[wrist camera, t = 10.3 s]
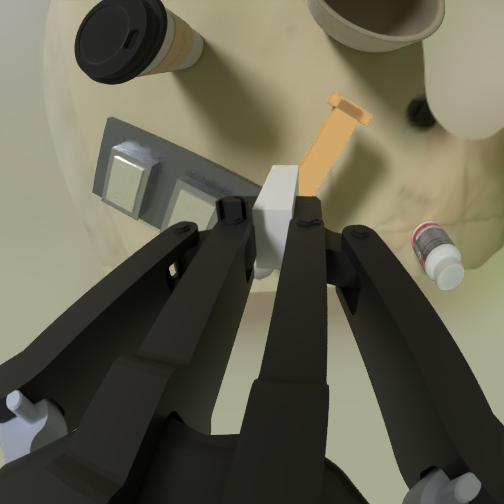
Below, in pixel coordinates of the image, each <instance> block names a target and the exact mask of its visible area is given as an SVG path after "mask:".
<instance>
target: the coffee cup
mask: <svg viewBox="0 0 504 504" xmlns="http://www.w3.org/2000/svg"><path fill="white" fill-rule="evenodd" d="M202 51H203V39H202V37H201V36H200V35H199V34H198V33H197V32H196V31H195V30H193V29H192V28H191V27H190V26H189V25H188V24H187V23H186V22H185V21H184V20H182V19H181V18H180V17H178V16H177V15H175V14H174V13H173V12H171V11H170V10H168V9H167V8H165V7H164V5H163V3H162V2H161V1H160V0H102V1H101V2H99V3H98V4H97V5H96V6H95V7H93V8H92V9H91V10H90V12H89V13H88V14H87V15H86V17H85V18H84V20H83V21H82V23H81V25H80V27H79V29H78V32H77V35H76V39H75V57H76V61H77V63H78V65H79V67H80V68H81V70H82V71H83V72H85V73H86V74H87V75H88V76H89V77H90V78H91V79H92V80H94V81H96V82H99V83H104V84H110V85H115V84H121V83H124V82H127V81H129V80H131V79H133V78H135V77H140V76H146V75H152V74H158V73H165V72H170V71H172V70H181V69H186V68H189V67H191V66H192V65H194V64H195V63H196V62H197V60H198V59H199V58H200V56H201V54H202Z"/></svg>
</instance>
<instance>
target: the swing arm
mask: <svg viewBox="0 0 504 504" xmlns="http://www.w3.org/2000/svg"><path fill="white" fill-rule="evenodd" d="M327 103H329V104H330V105H332V106H333V108H332V110H331V111H330V113H329V115H328V117H327V118H326V120H325V122H324V124H323V125H322V127H321V129H320V130H319V132H318V134H317V136H316V137H315V139H314V141H313V142H312V144H311V146H310V148H309V149H308V151H307V153H306V155H305V156H304V158H303V160H302V161H301V163H300V165H299V196H313V195H314V194H315V192H316V190H317V189H318V187H319V186H320V184H321V182H322V181H323V179H324V178H325V176H326V174H327V173H328V171H329V170H330V168H331V166H332V165H333V163H334V161H335V160H336V158H337V157H338V155H339V153H340V152H341V150H342V148H343V147H344V145H345V144H346V142H347V140H348V139H349V137H350V135H351V134H352V132H353V130H354V129H355V127H356V125H357V124H358V122H360V123H362V124H363V125H365V126H367V124H368V122H369V121H370V119H371V117H372V115H371V114H369V113H368V112H366V111H365V110H363V109H361V108H360V107H358V106H357V105H355V104H354V103H352V102H350V101H349V100H347V99H345V98H344V97H342V96H340V95H339V94H337V93H335V92H333V93H331V95H330V97H329V99H328V100H327ZM273 270H274V269H259V268H257V267H256V260H255V263H254V278H256V279H262V278H266V277H268V276H269V275H270V274H271V273H272V272H273Z"/></svg>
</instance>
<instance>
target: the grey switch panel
mask: <svg viewBox="0 0 504 504" xmlns="http://www.w3.org/2000/svg"><path fill="white" fill-rule="evenodd" d="M261 189H262V187H261V186H259V185H257V184H255V183H254V182H252V181H250V180H248V179H246V178H244V177H242V176H240V175H238V174H236V173H234V172H232V171H230V170H228V169H226V168H224V167H222V166H220V165H218V164H216V163H214V162H212V161H210V160H208V159H206V158H204V157H202V156H200V155H197V154H195V153H193V152H191V151H189V150H187V149H185V148H183V147H180V146H178V145H176V144H174V143H172V142H169V141H167V140H165V139H163V138H161V137H158V136H156V135H154V134H151V133H149V132H147V131H145V130H142V129H140V128H138V127H135V126H133V125H130V124H128V123H126V122H123V121H121V120H118V119H116V118H113V117H110V118H108V119H107V123H106V126H105V130H104V135H103V139H102V143H101V148H100V153H99V157H98V163H97V168H96V173H95V179H94V186H93V193H95V194H97V195H98V196H100V197H102V200H101V201H103V202H105V203H106V204H108V205H110V206H112V207H114V208H115V209H117V210H119V211H121V212H123V213H124V214H126V215H128V216H130V217H132V218H133V219H135V220H138V219H139V218H140V219H142V220H144V221H146V222H147V223H149V224H151V225H153V226H155V227H157V228H158V229H160V233H162V232H163V231H164V230H166V229H167V228H168V227H170V226H172V225H174V224H176V223H178V222H181V221H182V222H183V221H188V222H194V223H196V224H197V225H198V230H199V231H204V230H210V229H213V227H214V226H215V224H216V223H217V221H218V218H217V211H216V204H215V201H217V200H218V199H220V198H223V197H226V196H234V195H237V196H244V197H245V196H259V194H260V192H261ZM254 279H255V278H254Z"/></svg>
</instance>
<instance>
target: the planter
mask: <svg viewBox="0 0 504 504" xmlns="http://www.w3.org/2000/svg"><path fill="white" fill-rule="evenodd" d="M307 3H308V7H309V9H310V12H311V14H312V15H313V17H314V19H315V20H316V22H317V23H318V25H319V26H320V27H321V28H322V29H323V30H324V31H325V32H326V33H327V34H328V35H330V36H331V37H332V38H334V39H335V40H337V41H338V42H340V43H342V44H344V45H346V46H348V47H351V48H354V49H357V50H361V51H366V52H388V51H392V50H396V49H399V48H402V47H405V46H408V45H410V44H413V43H416V42H418V41H421V40H423V39H425V38H427V37H429V36H431V35H432V34H433V33H434V32H435V31H436V30H437V29H438V28H439V27H440V25H441V23H442V21H443V18H444V14H445V2H444V0H307Z"/></svg>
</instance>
